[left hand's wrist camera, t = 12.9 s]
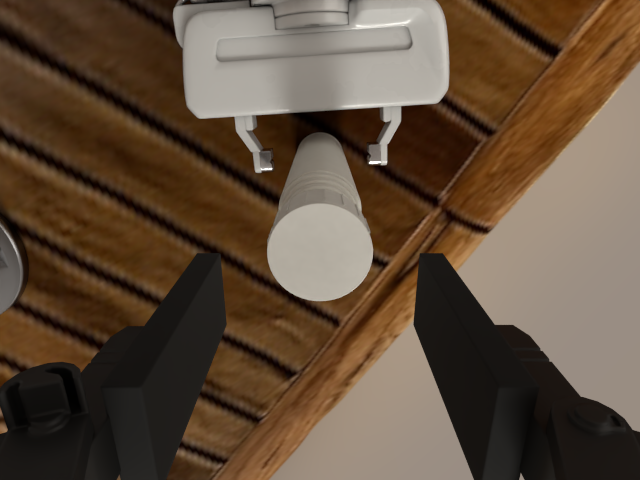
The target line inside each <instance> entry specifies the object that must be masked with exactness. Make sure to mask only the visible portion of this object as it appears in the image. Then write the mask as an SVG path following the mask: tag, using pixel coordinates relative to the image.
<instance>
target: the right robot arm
mask: <svg viewBox="0 0 640 480" xmlns="http://www.w3.org/2000/svg"><path fill="white" fill-rule="evenodd" d="M187 1H189V0H178V2H177V3H176V5H175V7H174V10H173V21H174V27H175V33H176V38H177V41H178V44H179V45H180V47H181V48H182V50H183V78H184V90H185V99H186V104H187V107H188V108H189V110H190V111H191V112H192V113H193V114H194V115H195V116H196V117H197V118H200V119H203V118H219V117H235V125H236V132H237V133H238V134H239V136H240V137H241V139H242V140H243V141H244V143H245V144H246V145H247V147H248V148H249V150H250V151H251V152H253V158H254V167H255V172H256V173H262V172H273V170H274V167H275V166H274V160H273V159H272V158H273V156H274V155H273V148H264V149H263V147H262V145H261V144H260V142H259V141H258V139H257V138H256V136H255V135H254V133H253V132H252V130H253V129H255V128H256V127H257V121H256V115H266V114H281V113H297V112H312V111H328V110H343V109H359V108H375V107H380V119H381V120H383V121H384V122H386V123H385V125H384V127H383V129H382V131H381V133H380V135H379V137H378V139H377V140H376V142H367V151H368V152H369V153H368V155H367V162H368V164H369V166H375V165H386V164H387V143H389V142H390V140H391V138H392V136H393V135H394V133H395V131H396V129H397V127H398V126H399V124H400V122H401V106H406V105H421V104H436V103H438V102H439V101H440V100H441V99H442V97H443V96H444V95H445V93H446V92H447V90H448V86H449V48H448V36H447V26H446V20H445V16H444V13H443V10H442V8H441V7H440V5H439V4H438V2H437V1H436V0H251V2H250V0H190V2H191V3H192V4H191V5H183V4H184V3H185V2H187ZM214 2H219V3H214ZM251 6H252V7H251Z"/></svg>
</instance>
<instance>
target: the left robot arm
mask: <svg viewBox="0 0 640 480" xmlns="http://www.w3.org/2000/svg"><path fill="white" fill-rule="evenodd" d="M28 271H29V269H28V260H27V255H26V252H25V249H24V246H23V244H22V242H21V240H20V238H19V236H18V234H17V233H16V231H15V230H14V228H13V227H12V226H11V224H10V223H9V222H8V221H7V220H6V219H5V218H4V217H3V216H2V215H1V214H0V314H2V313H3V312H4V311H6V310H7V309H9V308H10V307H11V306H13V305H14V304H15V303H16V302H17V301H18V300H19V298H20V297H21V295H22V294H23V292H24V290H25V288H26V284H27V281H28ZM225 327H226V313H225V302H224V291H223V280H222V268H221V257H220V253H197V255H196V256H195V257H194V259H193V260H192V261H191V263H190V264H189V266H188V267H187V268H186V270H185V271H184V272H183V274H182V275H181V277H180V278H179V279H178V281H177V282H176V283H175V285H174V286H173V288H172V289H171V290H170V292H169V293H168V294H167V296H166V297H165V298H164V300H163V301H162V303H161V304H160V305H159V307H158V308H157V309H156V311H155V312H154V314H153V315H152V316H151V318H150V319H149V320H148V322H147V323H146V325H145V326H127V327H126V328H124V329H122V330H121V331H119V332H118V333H116V334H115V335H113V336H112V337H110V339H109V340H108V341H107V342H106V343H105V345H104V346H103V347H102V348H101V349H100V352H98V353H97V354H96V355H95V357H94V358H93V359H92V360H91V363H89V364H88V365H87V366H86V367H85V369H84V370H83V371H82V372H80V369H79V368H78V367H77V366H75V365H74V364H71V363H65V362H56V363H47V364H43V365H39V366H36V367H32V368H30V369H28V370H26V371H23V372H21V373H19V374H17V375H15V376H14V377H13V378H11V379H10V380H8V381H7V382H5V383H4V384H3V385H2V386H1V388H0V407H1V410H2V413H3V416H4V419H5V422H6V425H7V428H8V431H7V432H6V433H2V434H0V480H117V478H118V476H119V474H120V478H121V480H166V478H167V476H168V473H169V470H170V468H171V465H172V463H173V460H174V458H175V455H176V453H177V450H178V447H179V445H180V442H181V440H182V437H183V435H184V432H185V430H186V427H187V424H188V422H189V419H190V417H191V414H192V412H193V409H194V406H195V404H196V401H197V399H198V396H199V394H200V391H201V389H202V386H203V383H204V381H205V378H206V376H207V373H208V371H209V368H210V366H211V363H212V360H213V358H214V355H215V353H216V350H217V348H218V345H219V343H220V340H221V337H222V335H223V332H224V330H225ZM414 327H415V330H416V332H417V335H418V337H419V340H420V343H421V345H422V348H423V350H424V353H425V355H426V358H427V360H428V363H429V365H430V368H431V370H432V373H433V376H434V378H435V381H436V383H437V386H438V388H439V391H440V394H441V396H442V399H443V401H444V404H445V406H446V409H447V412H448V414H449V417H450V419H451V422H452V424H453V427H454V430H455V432H456V435H457V437H458V440H459V442H460V445H461V447H462V450H463V452H464V455H465V458H466V460H467V463H468V465H469V468H470V470H471V473H472V476H473V478H474V480H519V478H520V473H521V474H522V476H523V477H524V479H525V480H640V432H637V431H634V430H632V429H631V427H630V426H629V424H628V423H627V422H626V420H625V419H624V418H623V417H622V416H620V415H619V414H618V413H617V412H615V411H614V410H613V409H611V408H609V407H607V406H605V405H603V404H601V403H599V402H597V401H594V400H591V399H587V398H584V397H580V395H579V394H578V393H577V392H576V391H575V389H574V388H573V387H572V386H571V385H570V383H569V382H568V381H567V380H566V379H565V377H564V376H563V375H562V374H561V373H560V371H559V370H558V369H557V368H556V367H555V365H554V364H553V363H552V362H549V358H548V357H547V356H546V355H545V354H544V352H543V351H540V348H539V346H538V345H537V344H536V343H535V342H534V340H533V339H532V338H531V337H530V336H529V335H528V334H526V333H524V332H523V331H521V330H520V329H518V328H517V327H515V326H514V325H494V323H493V322H492V320H491V319H490V318H489V316H488V315H487V314H486V312H485V311H484V309H483V308H482V307H481V305H480V304H479V303H478V301H477V300H476V298H475V297H474V296H473V294H472V293H471V292H470V290H469V289H468V288H467V286H466V285H465V283H464V282H463V281H462V279H461V278H460V277H459V275H458V274H457V272H456V271H455V270H454V268H453V267H452V266H451V264H450V263H449V261H448V260H447V259H446V257H445V256H444V255H443V253H420V257H419V268H418V280H417V291H416V302H415V313H414Z"/></svg>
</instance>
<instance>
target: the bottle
mask: <svg viewBox="0 0 640 480" xmlns="http://www.w3.org/2000/svg"><path fill="white" fill-rule="evenodd" d="M317 189H325V190H331V191H334V192H337V193H340V194H341V193H342V194H343V195H344V196H345V197H347V198H349V199H350V200H351V201H352V202H353V203H354V204H357V206H358V208H359V210H360V211H361V202H360V198H359V195H358V192H357V190H356V187H355V184H354V181H353V178H352V175H351V172H350V170H349V167H348V164H347V161H346V158H345V155H344V152H343V150H342V147H341V145H340V143H339V142H338V140H337V139H336V138H334V137H333V136H332V135H330V134H327V133H322V132H318V133H313V134H310V135H308V136H307V137H305V138H304V139H303V140H302V142H301V143H300V145H299V147H298V150H297V152H296V155H295V158H294V161H293V164H292V167H291V169H290V172H289V175H288V178H287V181H286V184H285V187H284V189H283V192H282V195H281V198H280V202H279V211H280V210H281V208H282V207H283V206H284V205H285V204H286V203H287V202H288V201H289V199H290V198H291V199H292V198H293V197H294V196H296V195H298V194H300V193H303V192H305V191H306V190H307V191H310V190H317Z"/></svg>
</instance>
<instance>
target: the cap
mask: <svg viewBox="0 0 640 480" xmlns="http://www.w3.org/2000/svg"><path fill="white" fill-rule="evenodd" d="M369 233H370V230H369V227H368V224H367V221H366V218H365V219H364V217H363V215H362V213H361V211H360V210H359V208H358V206H357V204H354V203H353V202H352V201H351V200H350V199H349V198H347V197H345V196H344V195H343V194H342V193H341V194H340V193H337V192H334V191H331V190H325V189H317V190H310V191H307V190H306V191H305V192H303V193H300V194H298V195H296V196H294V197H293V198H292V199H291V198H290V199H289V201H288V202H287V203H286V204H285V205H284V206H283V207H282V208H281V210H280V211H278V212H277V215H276V218H275V221H274V224H273V227H272V229H271V232H270V235H269V238H268V241H267V242H268V247H267V257H268V263H269V266H270V269H271V271H272V273H273V275H274V277H275V278H276V280H277V281H278V282H279V283H280V284H281V285H282V286H283V287H284V288H285V289H286V290H288V291H289V292H290V293H292V294H294V295H296V296H298V297H301V298H304V299H307V300H313V301H327V300H332V299H336V298H339V297H342V296H344V295H346V294H348V293H349V292H351V291H353V290H354V289H355V288H356V287H357V286H358V285H359V284H360V283H361V282H362V281H363V280H364V278H365V277H366V275H367V273H368V271H369V269H370V266H371V263H372V257H373V246H372V241H371V237H370V234H369Z"/></svg>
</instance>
